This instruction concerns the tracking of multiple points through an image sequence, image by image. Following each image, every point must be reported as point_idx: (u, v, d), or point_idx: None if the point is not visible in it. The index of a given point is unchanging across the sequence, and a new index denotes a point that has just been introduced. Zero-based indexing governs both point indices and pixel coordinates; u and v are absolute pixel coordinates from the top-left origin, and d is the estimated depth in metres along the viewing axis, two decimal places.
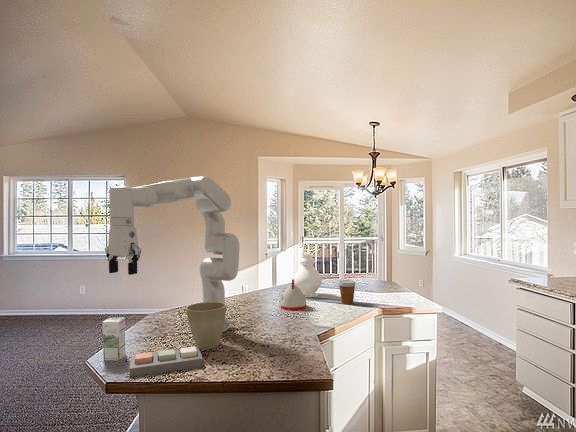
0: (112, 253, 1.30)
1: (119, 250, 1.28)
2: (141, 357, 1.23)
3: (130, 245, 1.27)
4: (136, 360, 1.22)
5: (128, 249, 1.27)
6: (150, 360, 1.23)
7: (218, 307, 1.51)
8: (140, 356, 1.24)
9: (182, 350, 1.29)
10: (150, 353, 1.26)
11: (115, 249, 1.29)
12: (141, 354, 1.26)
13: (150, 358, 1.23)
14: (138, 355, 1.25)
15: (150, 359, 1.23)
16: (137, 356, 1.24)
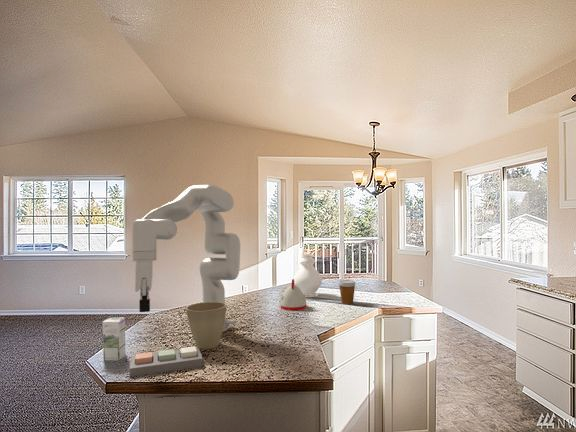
0: None
1: None
2: (141, 357, 1.23)
3: None
4: (136, 360, 1.22)
5: None
6: (150, 360, 1.23)
7: (218, 307, 1.51)
8: (140, 356, 1.24)
9: (182, 350, 1.29)
10: (150, 353, 1.26)
11: None
12: (141, 354, 1.26)
13: (150, 358, 1.23)
14: (138, 355, 1.25)
15: (150, 359, 1.23)
16: (137, 356, 1.24)
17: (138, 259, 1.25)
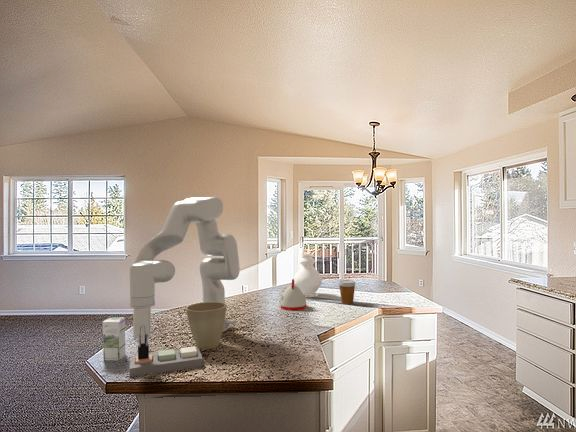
0: None
1: None
2: (141, 360, 1.23)
3: None
4: (136, 362, 1.22)
5: None
6: None
7: (218, 307, 1.51)
8: None
9: (182, 350, 1.29)
10: (150, 355, 1.26)
11: (150, 328, 1.25)
12: None
13: (150, 360, 1.23)
14: None
15: (150, 361, 1.23)
16: (137, 358, 1.24)
17: (136, 306, 1.21)
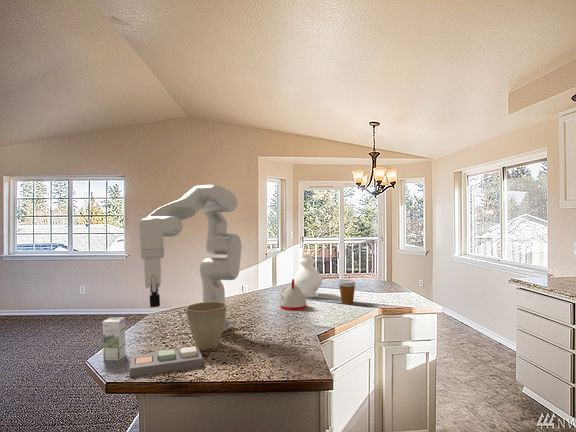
0: (160, 283, 1.31)
1: None
2: (141, 362, 1.23)
3: None
4: None
5: None
6: None
7: (218, 307, 1.51)
8: (140, 360, 1.24)
9: (182, 350, 1.29)
10: (150, 357, 1.26)
11: None
12: (141, 358, 1.26)
13: None
14: (138, 360, 1.25)
15: None
16: (137, 361, 1.24)
17: (147, 257, 1.29)
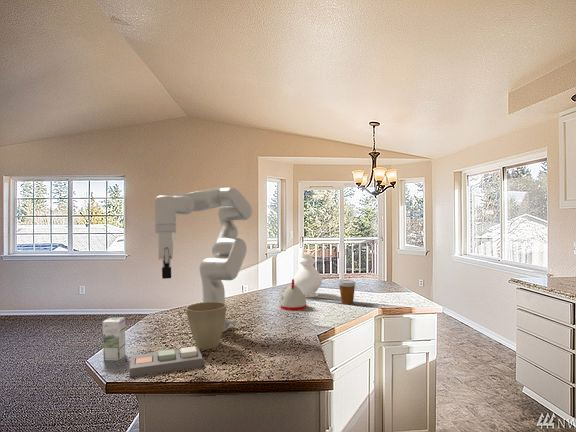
0: None
1: None
2: (141, 362, 1.23)
3: None
4: None
5: None
6: None
7: (218, 307, 1.51)
8: (140, 360, 1.24)
9: (182, 350, 1.29)
10: (150, 357, 1.26)
11: None
12: (141, 358, 1.26)
13: None
14: (138, 360, 1.25)
15: None
16: (137, 361, 1.24)
17: (160, 231, 1.40)
